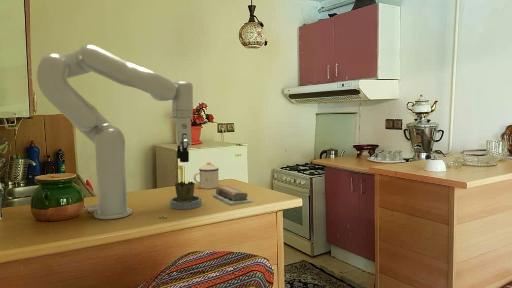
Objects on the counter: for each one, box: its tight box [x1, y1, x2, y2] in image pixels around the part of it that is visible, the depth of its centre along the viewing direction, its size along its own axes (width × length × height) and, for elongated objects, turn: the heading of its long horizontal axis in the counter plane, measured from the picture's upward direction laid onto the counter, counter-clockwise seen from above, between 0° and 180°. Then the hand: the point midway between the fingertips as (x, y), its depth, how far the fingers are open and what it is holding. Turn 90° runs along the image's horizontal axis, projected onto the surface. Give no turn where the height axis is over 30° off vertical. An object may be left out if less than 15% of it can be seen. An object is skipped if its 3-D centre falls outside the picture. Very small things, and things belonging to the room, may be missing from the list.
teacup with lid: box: [193, 161, 220, 190], centre depth 183 cm, size 12×9×12 cm
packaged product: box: [212, 184, 253, 207], centre depth 160 cm, size 18×5×10 cm
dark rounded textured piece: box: [174, 181, 196, 202], centre depth 151 cm, size 8×7×8 cm
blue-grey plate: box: [169, 195, 203, 211], centre depth 152 cm, size 12×12×2 cm
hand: (182, 160), depth 150 cm, fingers open, 9 cm apart
